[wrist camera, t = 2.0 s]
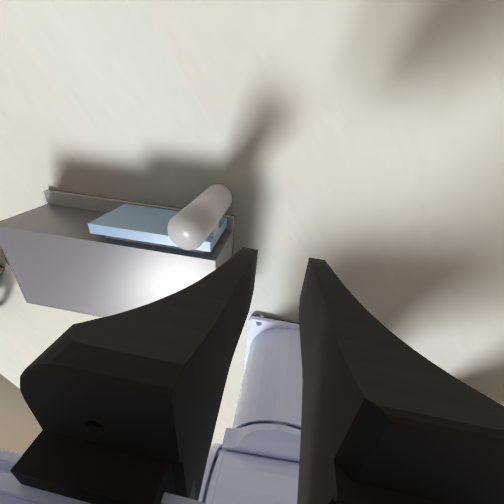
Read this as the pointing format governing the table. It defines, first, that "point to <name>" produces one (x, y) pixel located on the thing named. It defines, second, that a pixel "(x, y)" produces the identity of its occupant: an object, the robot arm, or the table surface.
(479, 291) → the table surface
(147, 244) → the housing
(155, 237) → the door
